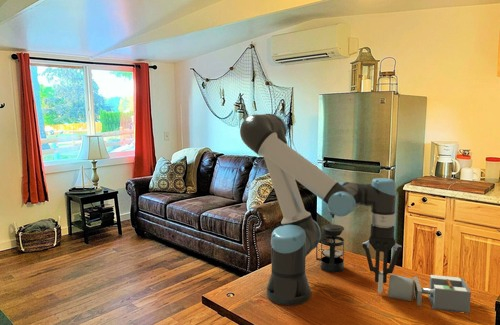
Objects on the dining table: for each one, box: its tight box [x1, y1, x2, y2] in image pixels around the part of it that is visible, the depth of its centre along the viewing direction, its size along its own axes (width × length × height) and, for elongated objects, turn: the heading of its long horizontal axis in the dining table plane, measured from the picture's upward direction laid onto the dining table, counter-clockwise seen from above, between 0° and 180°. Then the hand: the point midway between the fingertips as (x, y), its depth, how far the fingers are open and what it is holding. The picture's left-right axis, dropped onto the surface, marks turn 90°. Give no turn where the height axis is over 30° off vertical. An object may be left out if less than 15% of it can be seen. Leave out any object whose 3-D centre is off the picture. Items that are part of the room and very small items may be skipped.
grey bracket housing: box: [427, 274, 472, 314], centre depth 122 cm, size 10×10×7 cm
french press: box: [315, 211, 345, 274], centre depth 151 cm, size 12×9×23 cm
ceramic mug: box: [387, 273, 415, 302], centre depth 128 cm, size 11×8×8 cm
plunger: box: [413, 276, 452, 307], centre depth 123 cm, size 12×11×7 cm
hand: (380, 290), depth 129 cm, fingers closed
